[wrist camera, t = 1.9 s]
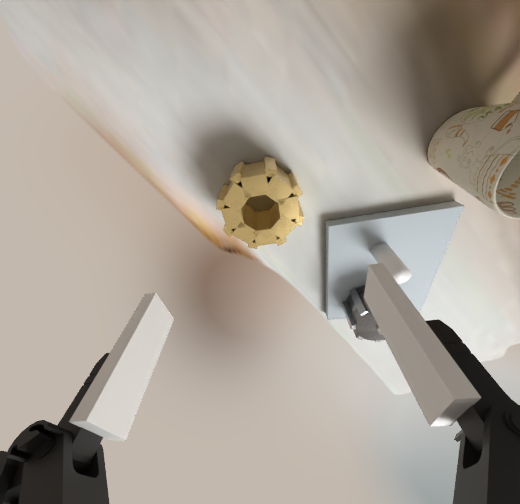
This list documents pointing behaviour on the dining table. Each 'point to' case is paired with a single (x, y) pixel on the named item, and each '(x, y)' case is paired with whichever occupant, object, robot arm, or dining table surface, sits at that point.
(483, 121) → the mug
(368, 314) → the gear
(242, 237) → the gear
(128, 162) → the dining table surface
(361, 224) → the gear board
